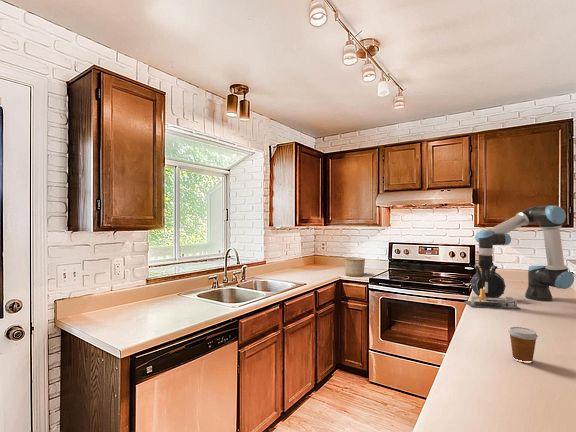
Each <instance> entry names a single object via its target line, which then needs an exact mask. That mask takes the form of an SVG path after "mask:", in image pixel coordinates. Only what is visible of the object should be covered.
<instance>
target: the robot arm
mask: <svg viewBox="0 0 576 432" xmlns="http://www.w3.org/2000/svg"><path fill="white" fill-rule="evenodd" d="M566 218H567V214H566V211H565V210H564V208H562V207H561V206H559V205H535V206H531V207H528V208H526V209H524V210H521V211H519V212H517V213H516V214H515V216H513V217H511V218H510V219H507V220H505V221H503V222H501V223H499V224H497V225H494V226H493V227H491V228H488V229H481V230H479V231H478V232H476V234H475V236H474V238H475V241H476V242H477V243H478V254H479V255H478V263H477V264H475V265H474V268H475V271H476V273H477V275H478V279H479V280H480V281H482V287H483V289H485V293H488V287H489V282H490V281H493V278H494V274H495V272H496V270H497V268H498V266H497V265H495V264H494V262H493V261H494V258H493V257H494V256H493V254H494V246H508V245H510V244H511V241H512V237H511V236H510V234H509V233H510V232H513V231H515V230H516V229H518V228H521V227H522V226H528V225H530V224H531V225H532V224H538V225H539V228H540V229H541V230H542V234H543V240H544V248H545V254H546V262H547V265H530V266H528V271H527V276H528V277H527V280H528V282H527V283H528V287H527V288H526V290H525V293H524V297H525V298H526V299H529V300H533V301H539V302H552V301H553V296H552V292H551V290H550V287H552V288H556V289H561V290H562V289H563V290H567V289H569V288H570V287H572V285H573V283H574V281H575V275H574V273H572V272H571V271H569V267H568V266H567V265H566V264H565V261H564V253H563V245H562V238H561V237H562V236H561V229H560V228H562V227H563V223H565V221H566ZM490 270H491V274H490ZM480 271H482V277H481V273H480ZM485 271H486V281H485Z"/></svg>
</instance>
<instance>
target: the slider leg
mask: <svg viewBox="0 0 576 432" xmlns="http://www.w3.org/2000/svg"><path fill="white" fill-rule="evenodd" d="M478 297H481V299H478V302H479V303H480V304H481V302H487V300H486V296H485V289H480V295H479V296H478Z"/></svg>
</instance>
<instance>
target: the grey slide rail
mask: <svg viewBox="0 0 576 432" xmlns="http://www.w3.org/2000/svg"><path fill="white" fill-rule="evenodd" d="M479 299H481V297H479V296H471V300H470V301H471V305H474V301H475V300H479ZM487 300H488V301H505V303H506V305H508V303H513V304H514V307H517V306H518V298H516V297H515V298H514V297H512V296H505V297H499V298H491V297H486V301H487Z"/></svg>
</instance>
